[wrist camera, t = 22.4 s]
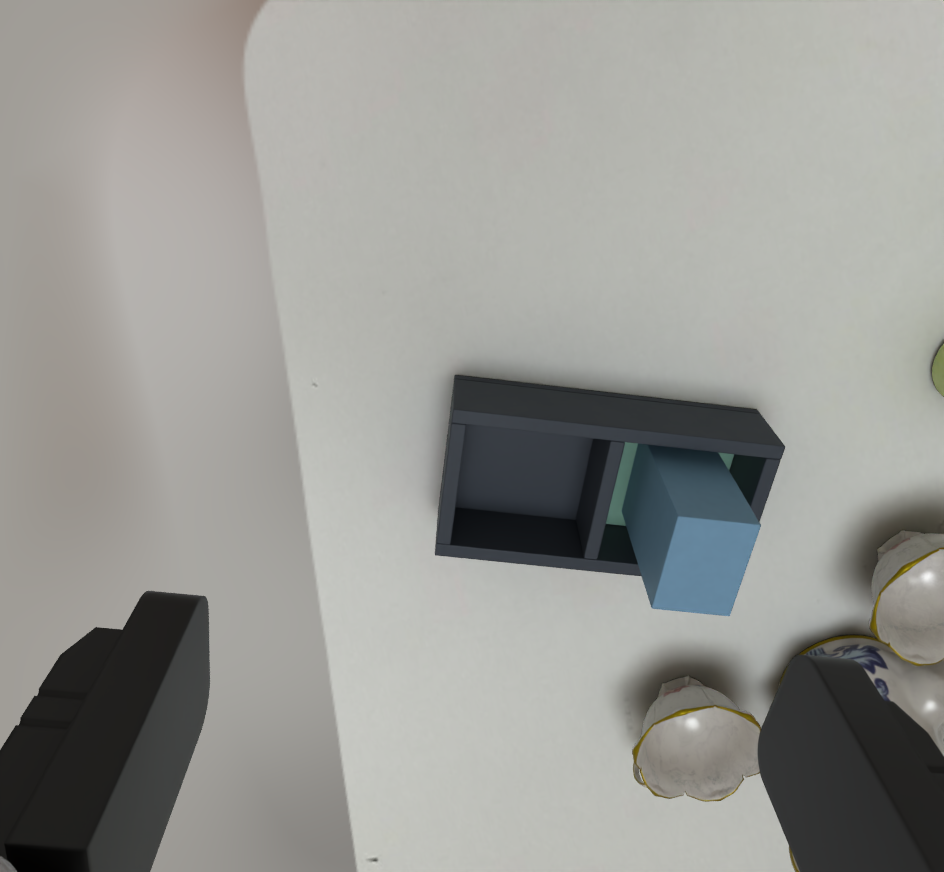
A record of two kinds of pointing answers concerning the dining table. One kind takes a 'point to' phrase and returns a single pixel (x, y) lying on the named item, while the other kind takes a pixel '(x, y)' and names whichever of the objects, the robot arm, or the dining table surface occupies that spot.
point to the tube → (939, 371)
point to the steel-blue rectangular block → (688, 529)
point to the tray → (573, 469)
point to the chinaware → (737, 732)
